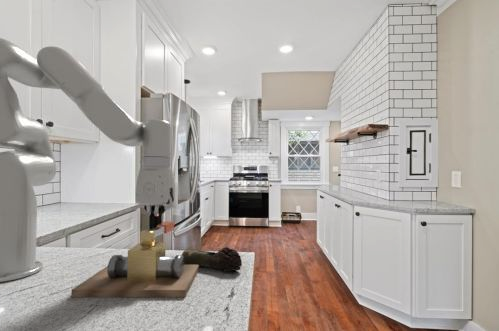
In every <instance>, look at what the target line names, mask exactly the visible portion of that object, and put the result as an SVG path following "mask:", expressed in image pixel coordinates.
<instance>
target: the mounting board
mask: <svg viewBox="0 0 499 331" xmlns="http://www.w3.org/2000/svg"><path fill="white" fill-rule="evenodd" d="M107 268H108V265H107V266H105V267H104V268H102V269H101V270H99V271H98V272H96V273H95V274H93V275H92V276H90V277H88V278H87V279H86V280H84V281H82V282H81V283H80V284H78V285H76V286H75V287H74V288H72V289H71V291H70V293H71V294H70V295H71V298H186V297H187V295H188V293H189V291H190V289H191V287H192V285H193V283H194V281H195V279H196V277H197V275H198V274H199V271H200V266H199V265H184V271H183V274H182V276H181V277H180V278H174V277H173V276H160V277H159V278H158V279H157V281H156V282H127V276H118V277H117V278H109V277H108V273H107Z"/></svg>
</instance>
